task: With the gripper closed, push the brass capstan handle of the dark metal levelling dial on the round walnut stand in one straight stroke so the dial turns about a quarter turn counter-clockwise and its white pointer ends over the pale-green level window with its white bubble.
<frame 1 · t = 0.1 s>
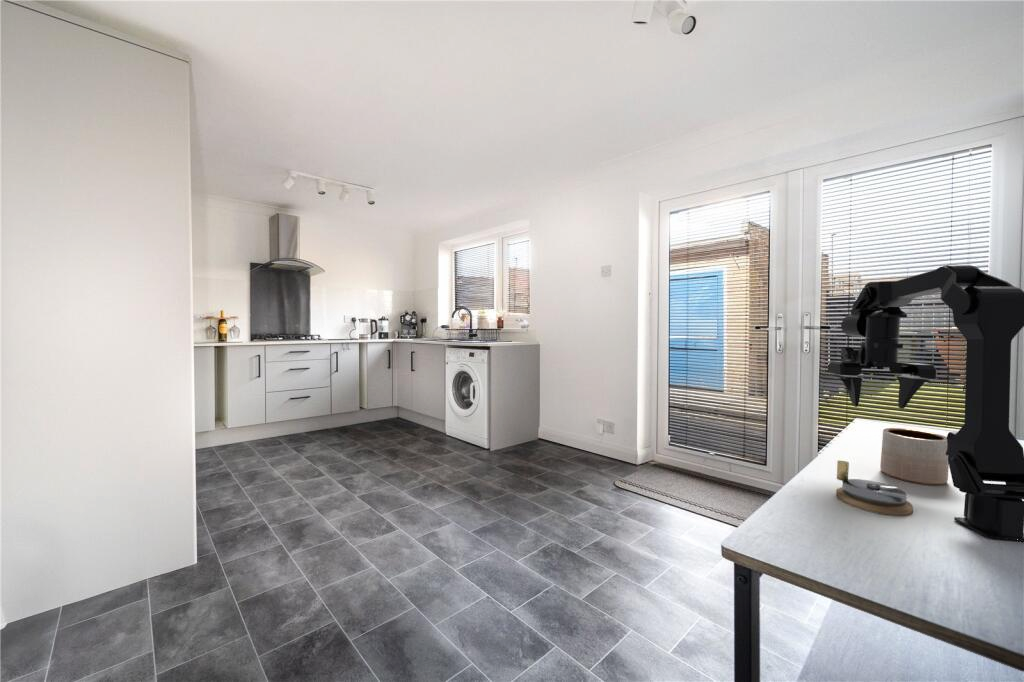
hand: (878, 407, 97), 15 cm above the table, fingers open, 9 cm apart
stand: (872, 502, 81), on the table
planter: (912, 477, 95), on the table
dial: (873, 482, 81), point 4 cm above the table, hinge at 0.0°
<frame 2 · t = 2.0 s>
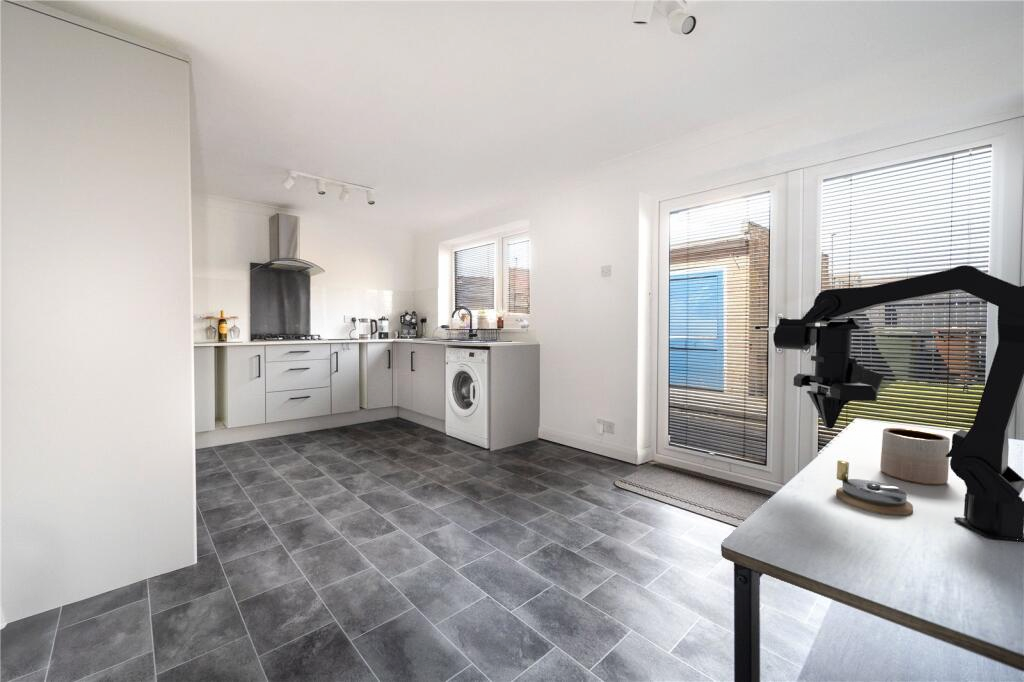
hand: (829, 427, 88), 12 cm above the table, fingers closed
nothing on the table moved.
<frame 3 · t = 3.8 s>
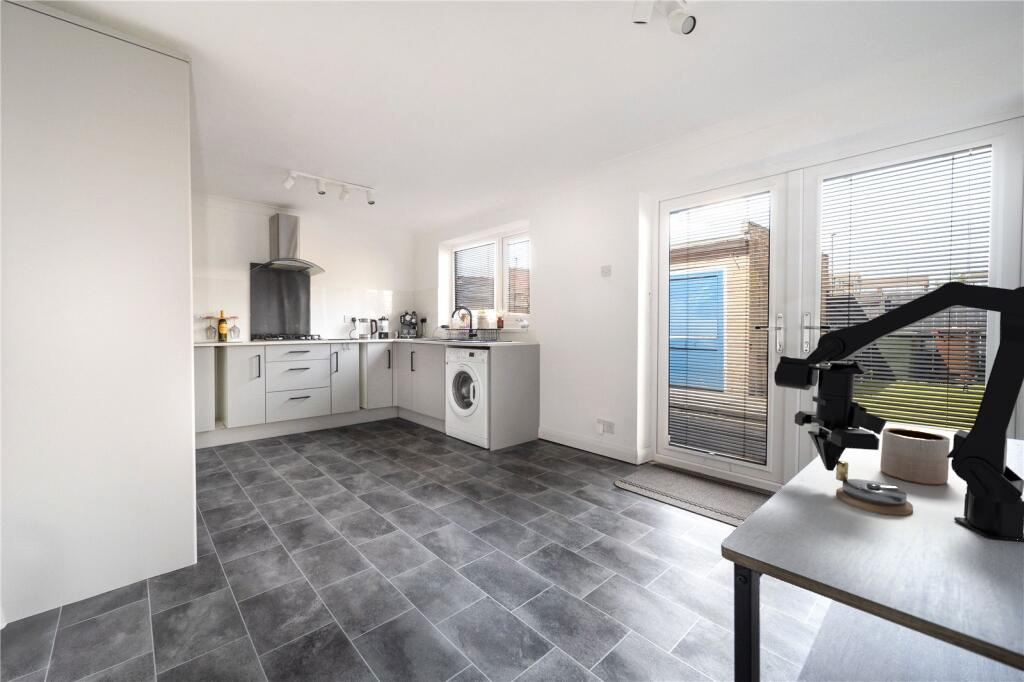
hand: (829, 470, 87), 4 cm above the table, fingers closed
dial: (873, 482, 81), point 4 cm above the table, hinge at 3.2°, touching gripper
everything else where it was.
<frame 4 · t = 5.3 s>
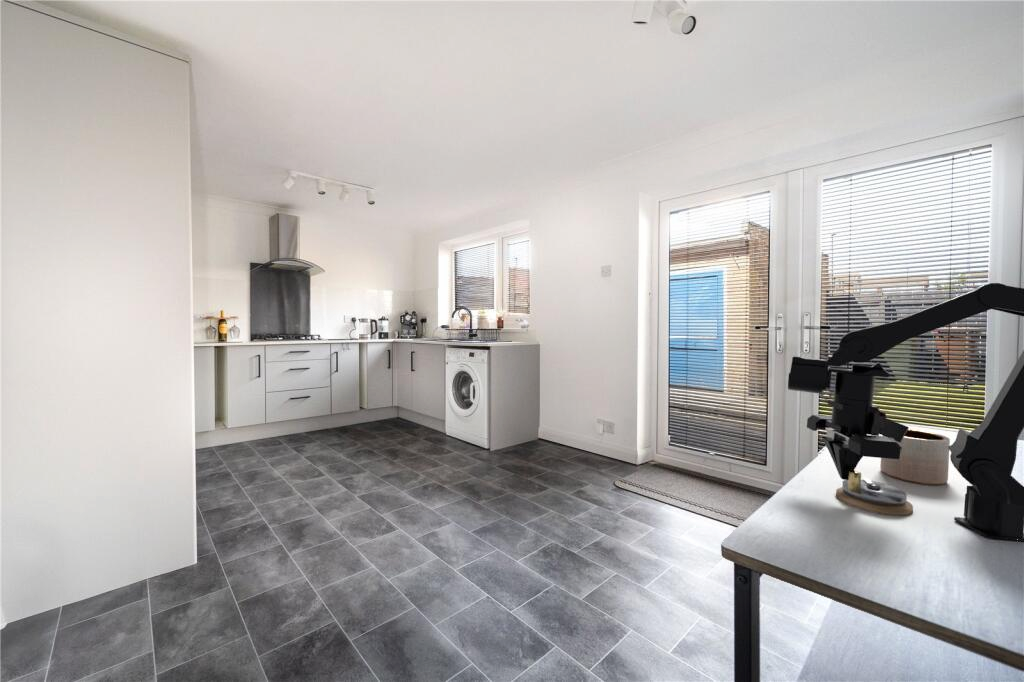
hand: (844, 479, 81), 4 cm above the table, fingers closed
dial: (873, 482, 81), point 4 cm above the table, hinge at 75.9°, touching gripper
everything else where it was.
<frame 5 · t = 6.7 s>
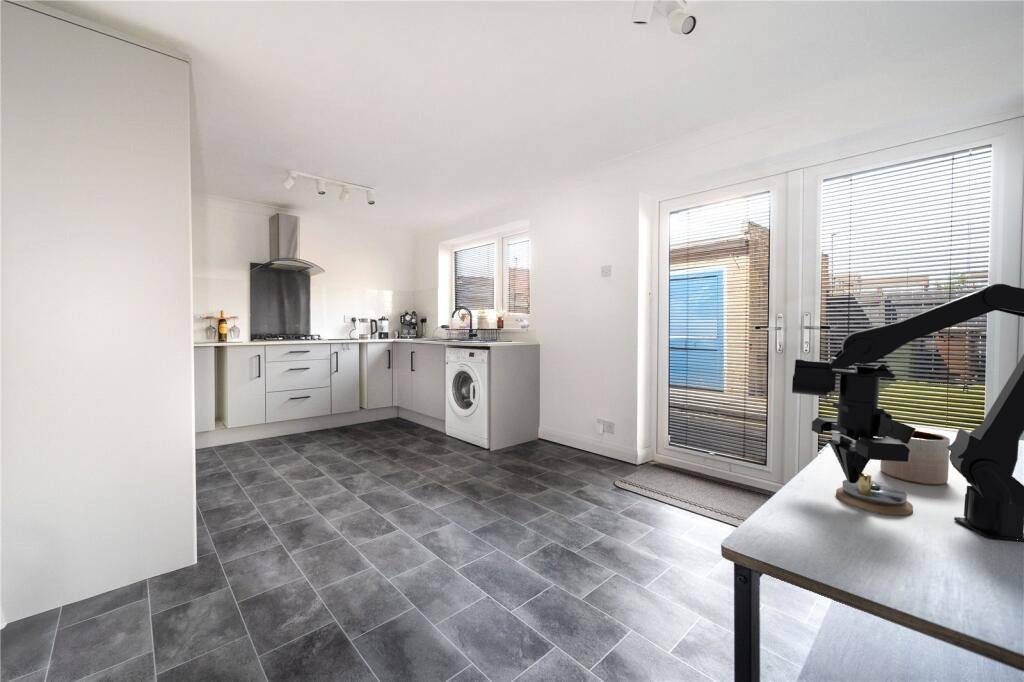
hand: (852, 482, 80), 4 cm above the table, fingers closed
dial: (873, 482, 81), point 4 cm above the table, hinge at 93.7°, touching gripper
everything else where it was.
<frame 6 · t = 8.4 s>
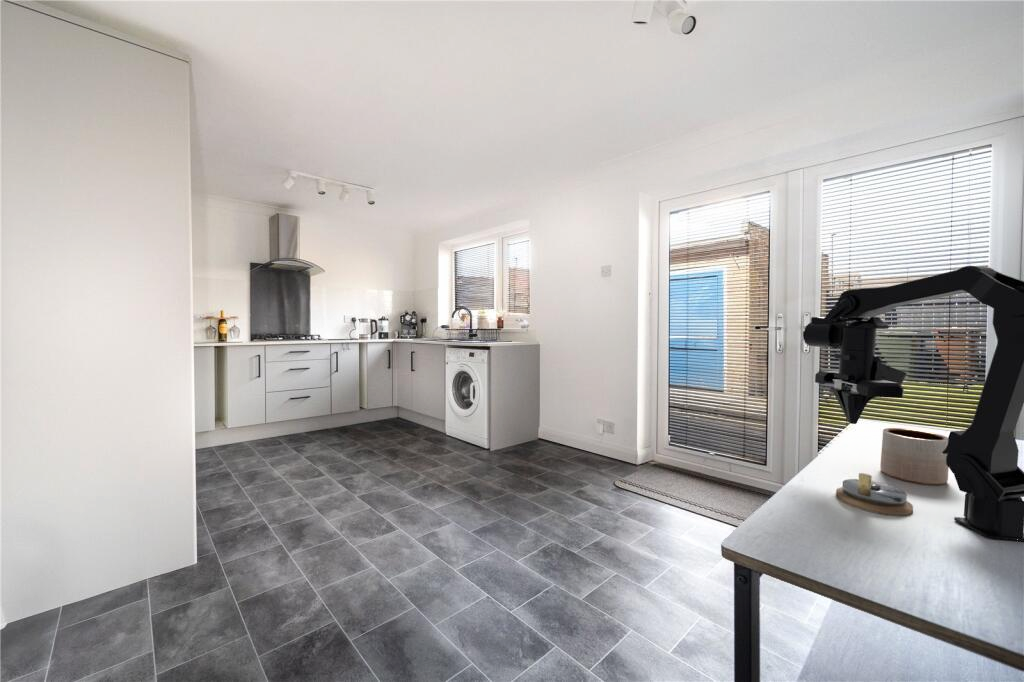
hand: (852, 423, 91), 12 cm above the table, fingers closed
dial: (873, 482, 81), point 4 cm above the table, hinge at 94.0°
everything else where it was.
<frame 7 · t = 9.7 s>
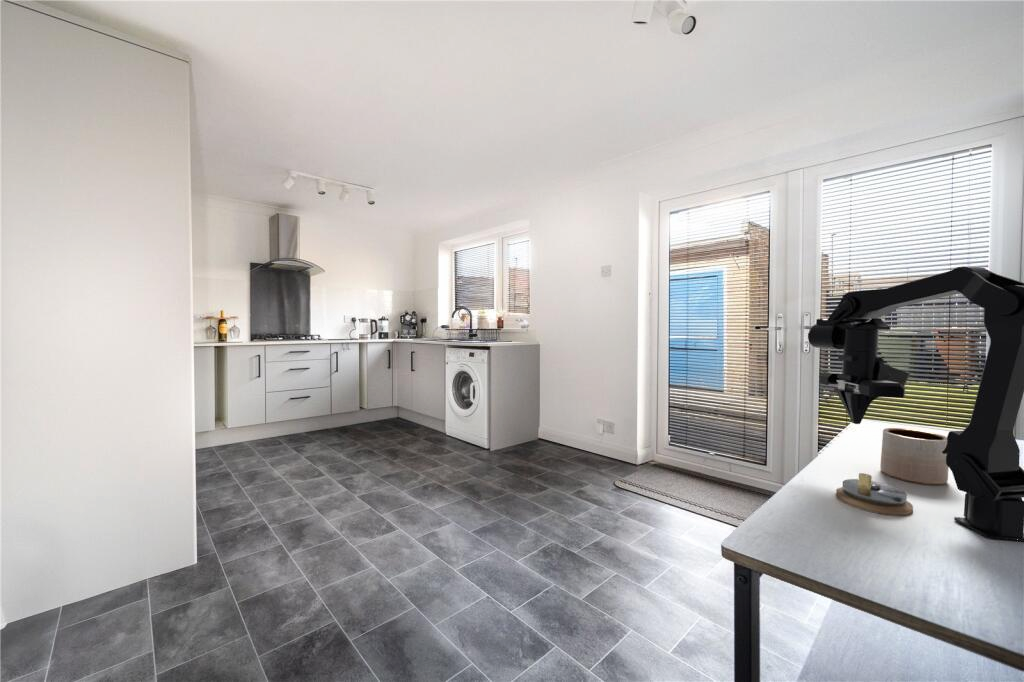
hand: (856, 423, 92), 12 cm above the table, fingers closed
nothing on the table moved.
at the end: dial at +94° (first picture: +0°) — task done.
